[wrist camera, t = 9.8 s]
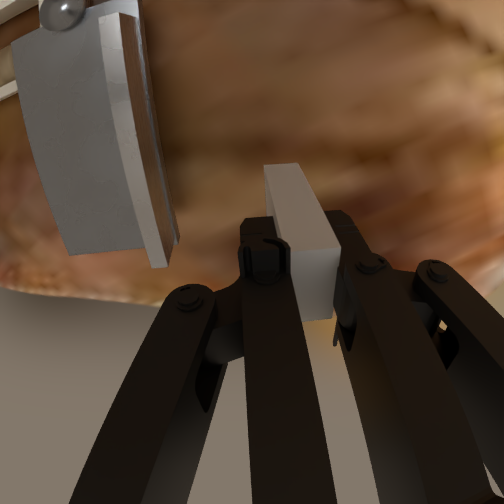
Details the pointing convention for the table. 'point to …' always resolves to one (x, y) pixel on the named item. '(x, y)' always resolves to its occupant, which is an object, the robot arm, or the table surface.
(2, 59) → the dowel
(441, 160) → the table surface
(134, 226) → the cover
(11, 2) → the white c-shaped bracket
